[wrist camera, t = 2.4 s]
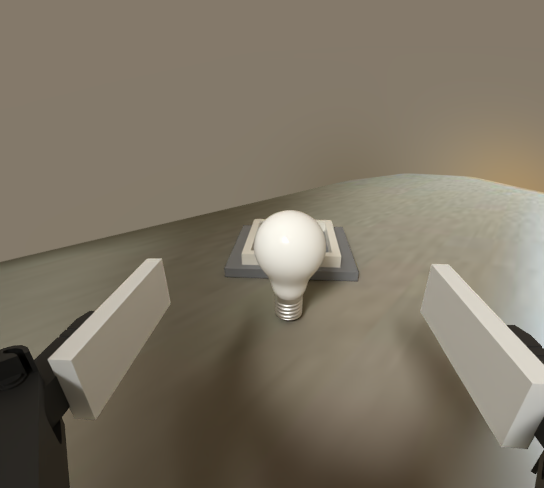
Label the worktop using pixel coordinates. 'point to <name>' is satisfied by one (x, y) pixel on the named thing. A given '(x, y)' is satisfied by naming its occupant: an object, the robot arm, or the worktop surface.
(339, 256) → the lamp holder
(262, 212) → the worktop surface
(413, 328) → the worktop surface
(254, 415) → the worktop surface
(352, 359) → the worktop surface
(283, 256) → the lightbulb
